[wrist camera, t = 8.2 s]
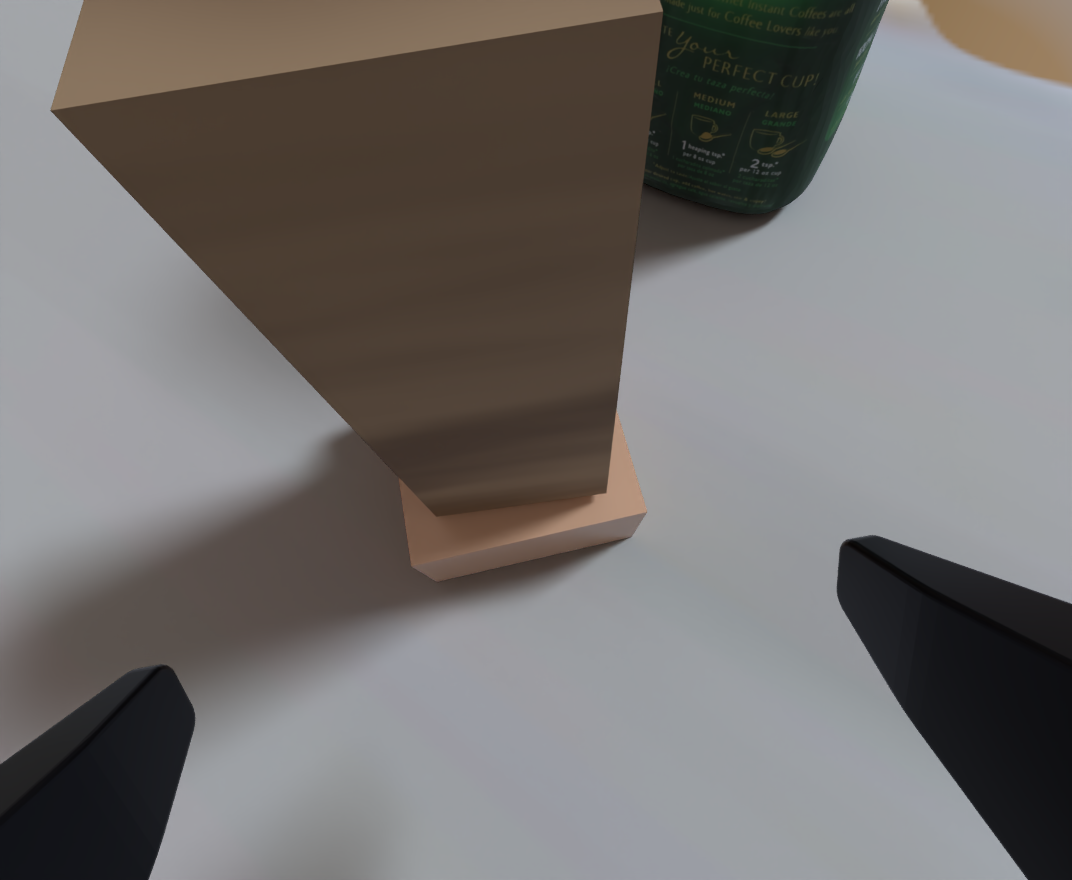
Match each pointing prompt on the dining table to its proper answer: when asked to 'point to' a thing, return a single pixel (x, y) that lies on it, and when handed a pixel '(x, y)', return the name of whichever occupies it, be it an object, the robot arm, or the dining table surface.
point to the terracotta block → (524, 525)
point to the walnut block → (401, 207)
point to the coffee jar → (752, 96)
